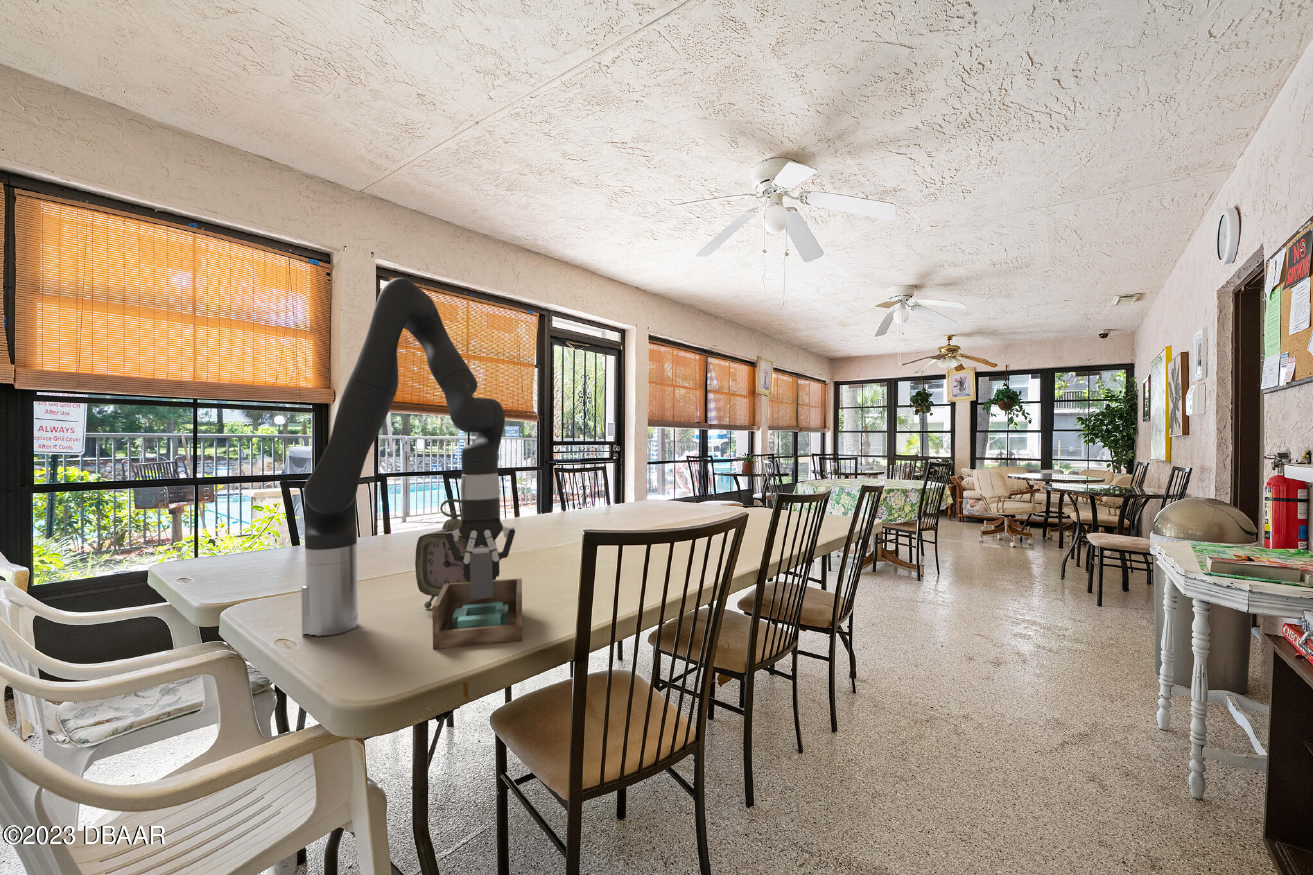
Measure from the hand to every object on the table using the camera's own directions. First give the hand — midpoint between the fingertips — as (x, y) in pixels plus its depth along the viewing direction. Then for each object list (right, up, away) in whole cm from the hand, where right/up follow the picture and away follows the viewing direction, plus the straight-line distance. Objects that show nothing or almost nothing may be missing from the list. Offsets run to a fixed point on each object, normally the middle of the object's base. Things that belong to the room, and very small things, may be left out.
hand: (482, 579), depth 112 cm
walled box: (0, -10, 0) cm, 10 cm away
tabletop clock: (-11, -10, +15) cm, 22 cm away
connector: (0, -3, 0) cm, 3 cm away
